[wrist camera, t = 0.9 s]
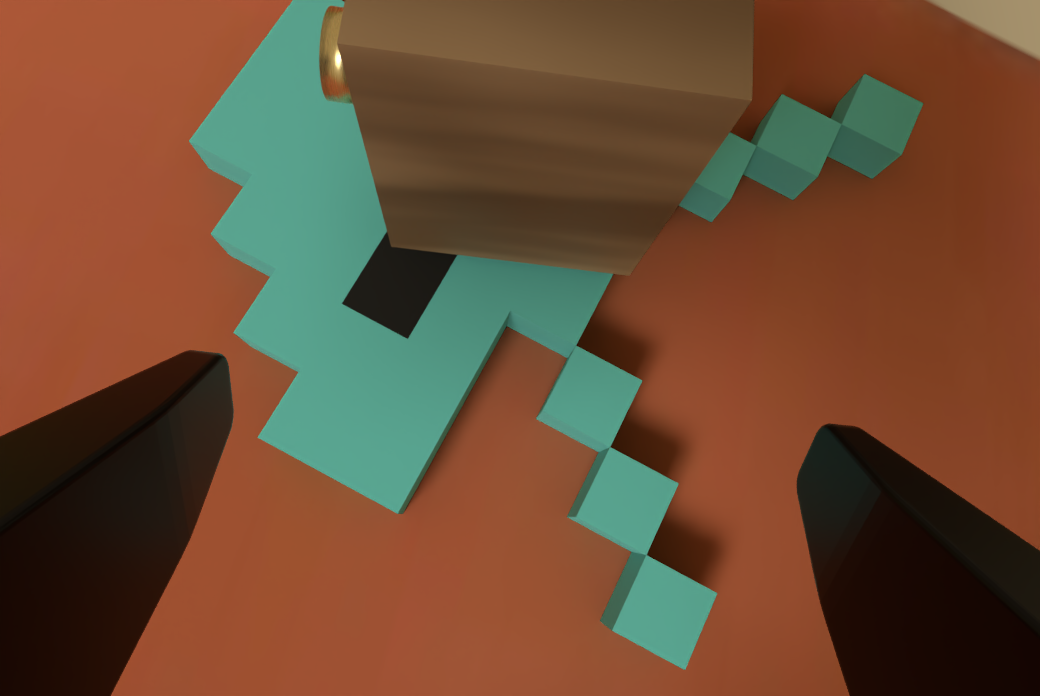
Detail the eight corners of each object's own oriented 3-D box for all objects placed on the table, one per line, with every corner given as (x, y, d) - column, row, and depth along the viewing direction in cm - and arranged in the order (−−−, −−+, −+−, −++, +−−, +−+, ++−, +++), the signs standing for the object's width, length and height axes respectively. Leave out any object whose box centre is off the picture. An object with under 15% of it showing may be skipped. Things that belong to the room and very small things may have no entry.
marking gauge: (629, 276, 21) (752, 100, 12) (363, 243, 20) (287, 36, 11) (644, 41, 22) (759, -259, 14) (401, 7, 22) (362, -324, 13)
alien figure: (885, 137, 26) (412, -102, 27) (923, 103, 24) (408, -156, 25) (662, 654, 21) (93, 344, 22) (685, 670, 19) (52, 326, 20)
